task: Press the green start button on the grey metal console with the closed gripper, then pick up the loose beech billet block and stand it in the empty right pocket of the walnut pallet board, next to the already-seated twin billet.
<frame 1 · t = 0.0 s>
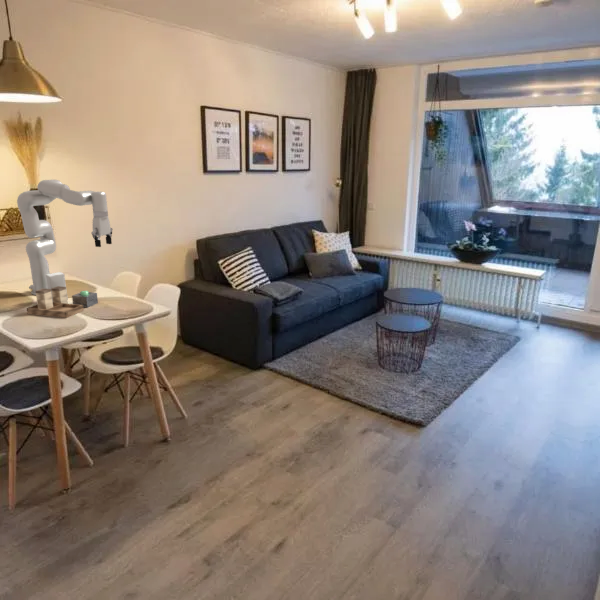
hand: (103, 245, 270), 31 cm above the table, fingers open, 9 cm apart
pallet: (55, 312, 254), on the table
skincare box: (58, 300, 275), on the table
twin billet: (45, 308, 255), resting on pallet
start button: (84, 295, 266), point 5 cm above the table, slide at 0.0 cm
console: (85, 304, 267), on the table
billet: (60, 305, 265), on the table
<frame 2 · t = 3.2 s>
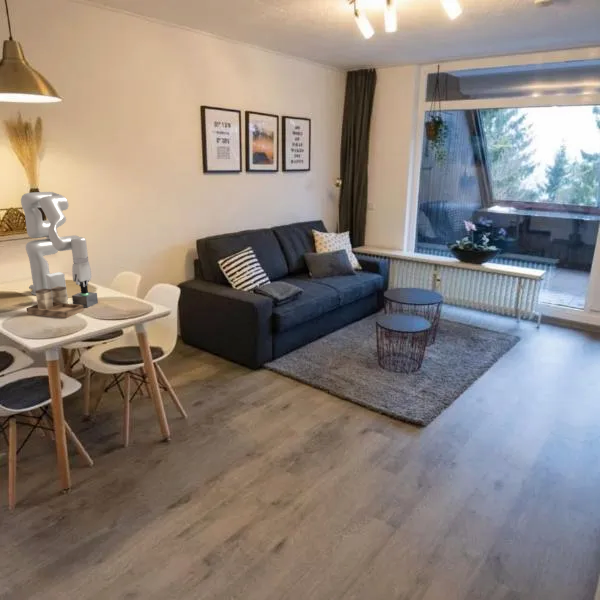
hand: (84, 293, 265), 7 cm above the table, fingers closed
start button: (84, 297, 266), point 4 cm above the table, slide at 0.8 cm
everything else where it was.
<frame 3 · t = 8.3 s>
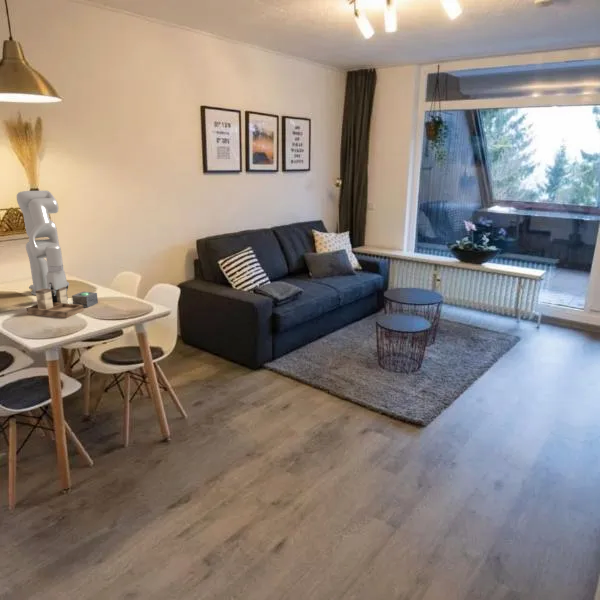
hand: (59, 300, 264), 3 cm above the table, fingers open, 7 cm apart
nothing on the table moved.
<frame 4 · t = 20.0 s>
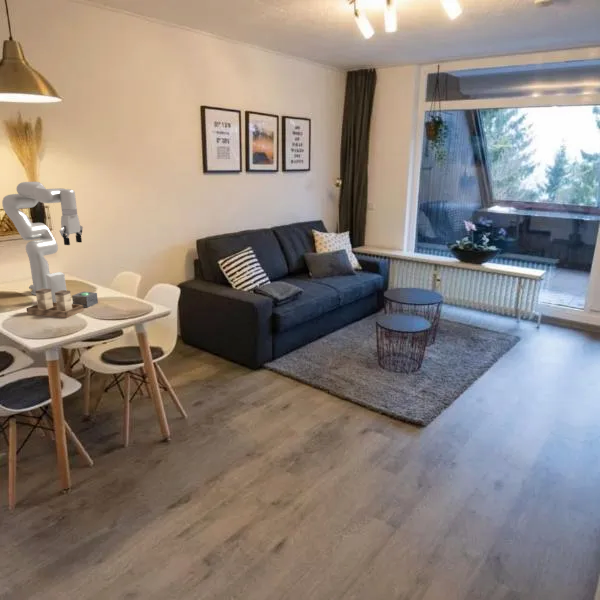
hand: (73, 243, 268), 32 cm above the table, fingers open, 9 cm apart
billet: (64, 310, 252), point 1 cm above the table, touching pallet
everything else where it was.
at the end: billet inside the target area on the pallet (0.2 cm from its centre), point 1.5 cm above the pallet's base; billet tilted 0°; start button slide at 1.1 cm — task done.
